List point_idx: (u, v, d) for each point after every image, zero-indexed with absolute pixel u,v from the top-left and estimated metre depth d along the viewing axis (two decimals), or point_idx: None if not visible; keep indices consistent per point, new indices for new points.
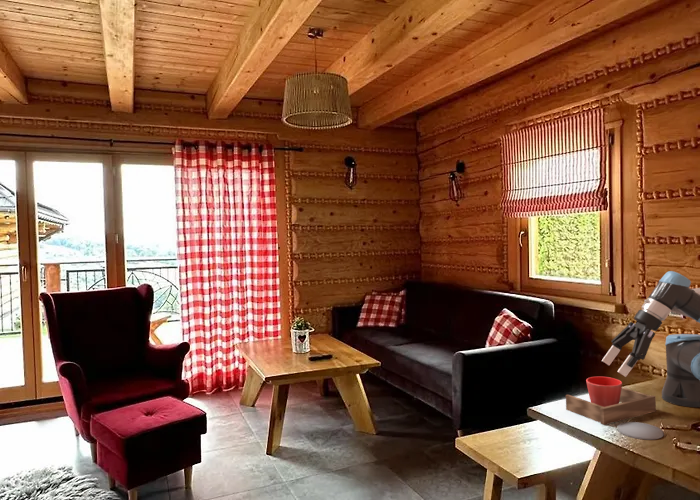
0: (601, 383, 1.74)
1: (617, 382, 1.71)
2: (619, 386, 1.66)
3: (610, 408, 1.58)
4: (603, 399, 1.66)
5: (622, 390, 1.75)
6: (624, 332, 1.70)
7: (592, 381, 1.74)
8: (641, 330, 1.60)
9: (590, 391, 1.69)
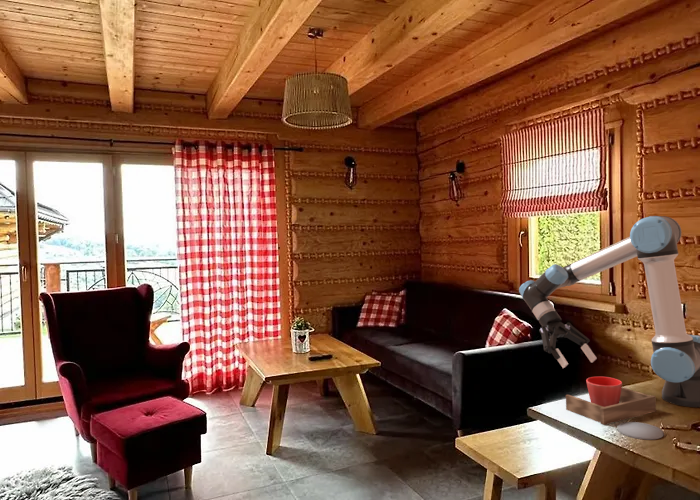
0: (601, 383, 1.74)
1: (617, 382, 1.71)
2: (619, 386, 1.66)
3: (610, 408, 1.58)
4: (603, 399, 1.66)
5: (622, 390, 1.75)
6: None
7: (592, 381, 1.74)
8: None
9: (590, 391, 1.69)
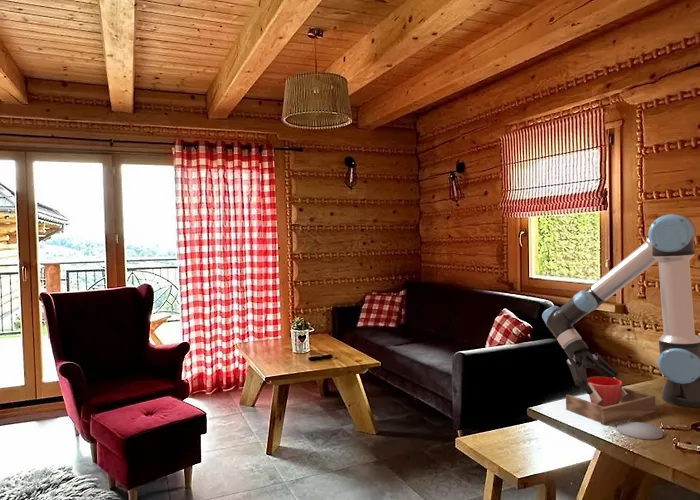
0: (601, 383, 1.74)
1: (617, 382, 1.71)
2: (619, 386, 1.66)
3: (610, 408, 1.58)
4: (603, 399, 1.66)
5: None
6: None
7: (592, 381, 1.74)
8: None
9: None
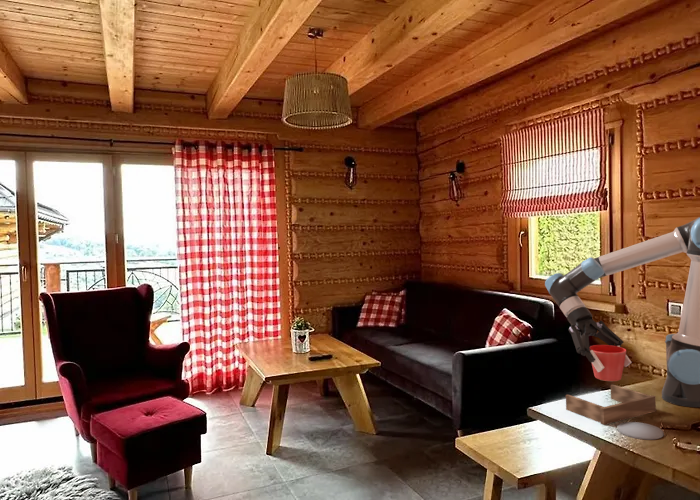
0: (605, 351, 1.68)
1: (621, 350, 1.64)
2: (623, 354, 1.59)
3: (610, 408, 1.58)
4: (606, 367, 1.60)
5: (622, 390, 1.75)
6: None
7: (595, 349, 1.68)
8: None
9: None
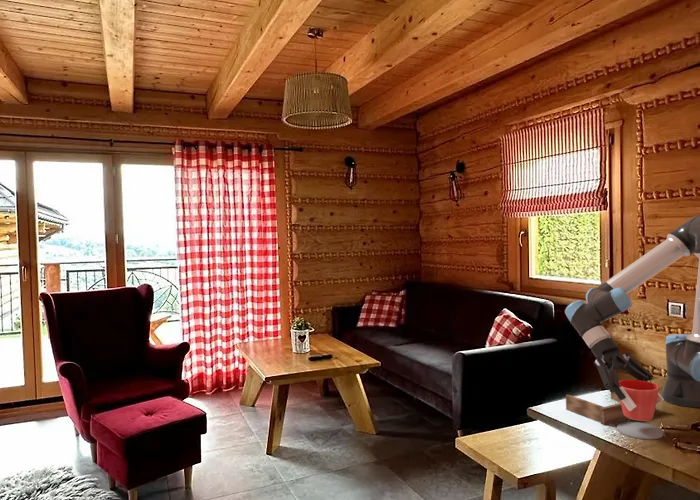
0: (633, 387, 1.55)
1: (652, 386, 1.51)
2: (656, 391, 1.46)
3: (610, 408, 1.58)
4: (637, 405, 1.46)
5: None
6: None
7: (623, 385, 1.55)
8: None
9: None
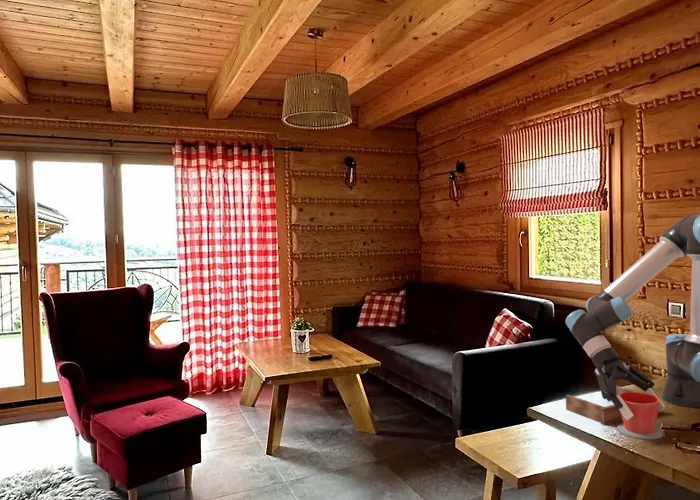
0: (634, 400, 1.55)
1: (653, 399, 1.51)
2: (656, 404, 1.46)
3: (610, 408, 1.58)
4: (638, 419, 1.47)
5: (622, 390, 1.75)
6: None
7: (624, 397, 1.55)
8: None
9: None
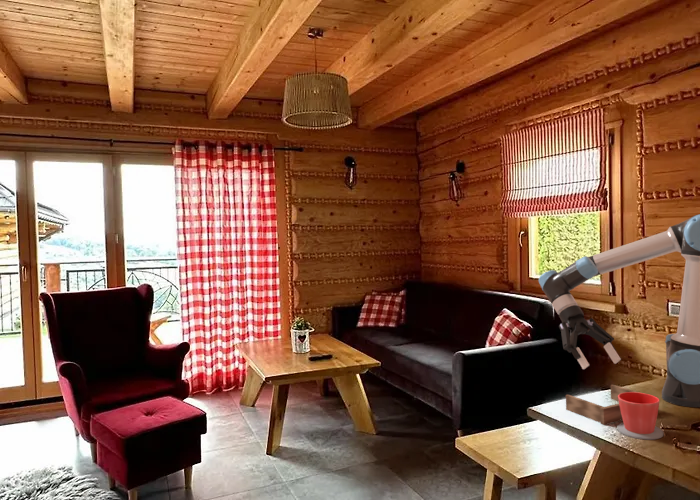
0: (634, 400, 1.55)
1: (653, 399, 1.51)
2: (657, 404, 1.46)
3: (610, 408, 1.58)
4: (638, 419, 1.47)
5: (622, 390, 1.75)
6: (595, 331, 1.74)
7: (624, 397, 1.55)
8: None
9: (623, 409, 1.50)
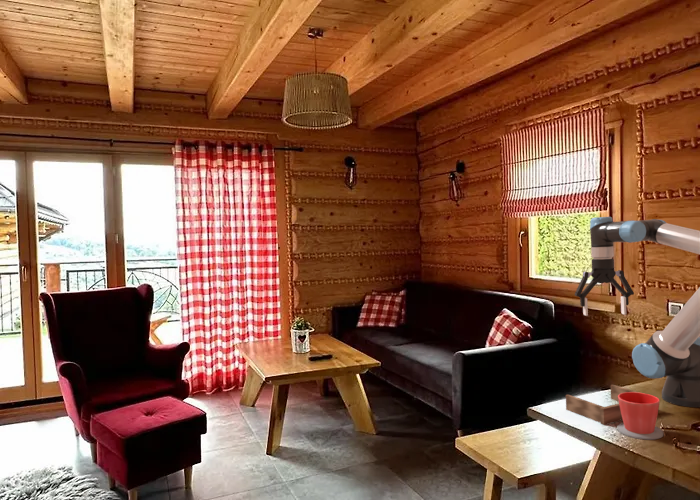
0: (634, 400, 1.55)
1: (653, 399, 1.51)
2: (657, 404, 1.46)
3: (610, 408, 1.58)
4: (638, 419, 1.47)
5: (622, 390, 1.75)
6: (621, 281, 1.88)
7: (624, 397, 1.55)
8: None
9: (623, 409, 1.50)
